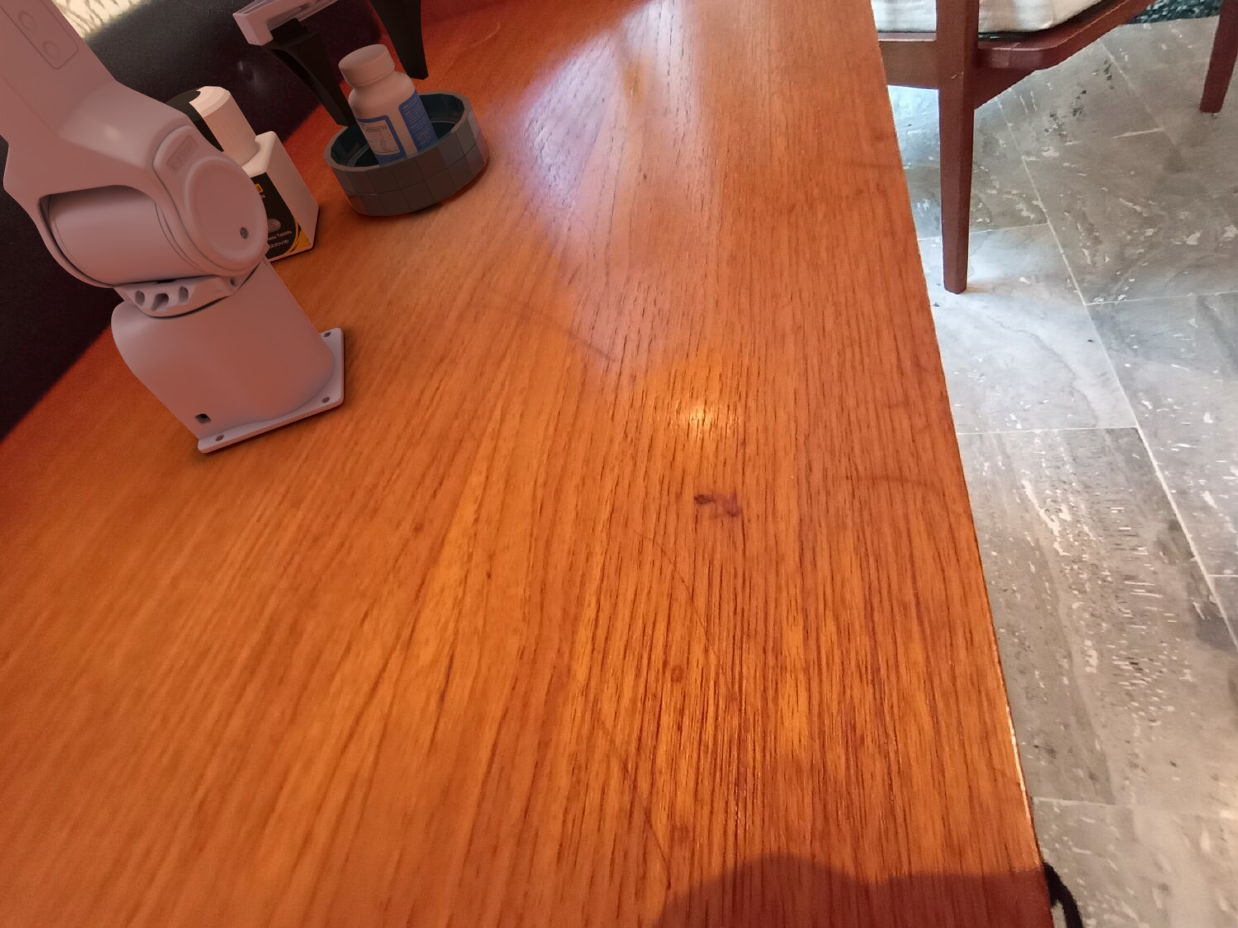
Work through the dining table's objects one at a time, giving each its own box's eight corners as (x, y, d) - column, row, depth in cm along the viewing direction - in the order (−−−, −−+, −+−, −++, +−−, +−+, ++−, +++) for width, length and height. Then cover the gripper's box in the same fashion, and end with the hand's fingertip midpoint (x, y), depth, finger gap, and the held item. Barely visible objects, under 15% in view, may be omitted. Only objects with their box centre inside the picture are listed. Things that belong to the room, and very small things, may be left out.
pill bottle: (437, 149, 65) (386, 33, 58) (456, 170, 62) (405, 49, 55) (381, 175, 65) (323, 61, 57) (398, 198, 61) (338, 78, 54)
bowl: (351, 239, 59) (322, 189, 56) (350, 171, 68) (325, 124, 65) (500, 186, 59) (479, 133, 56) (480, 125, 68) (461, 75, 65)
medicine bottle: (232, 275, 60) (126, 135, 51) (245, 232, 65) (150, 96, 56) (314, 249, 60) (222, 102, 51) (320, 207, 65) (237, 66, 56)
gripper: (223, -62, 43) (339, 153, 54) (405, -149, 49) (479, 61, 59) (175, -61, 47) (292, 140, 57) (348, -142, 53) (427, 55, 63)
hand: (383, 100), depth 59 cm, fingers open, 7 cm apart
